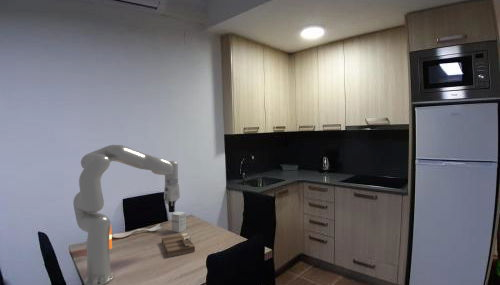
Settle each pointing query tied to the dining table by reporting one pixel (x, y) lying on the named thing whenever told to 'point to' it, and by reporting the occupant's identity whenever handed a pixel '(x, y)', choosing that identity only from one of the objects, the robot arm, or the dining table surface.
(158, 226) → the cream wavy strip
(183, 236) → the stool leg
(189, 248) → the wooden tray
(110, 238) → the orange juice
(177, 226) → the supplement box
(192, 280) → the dining table surface
